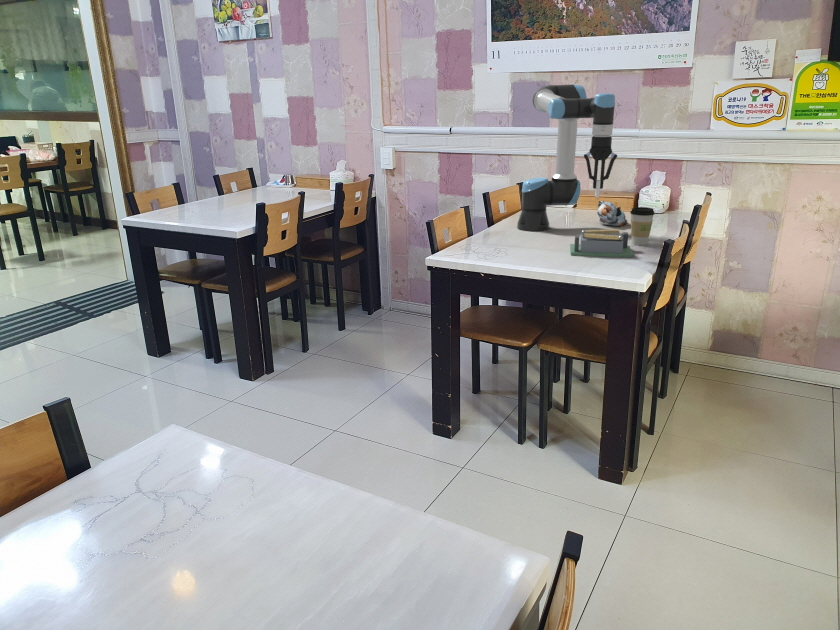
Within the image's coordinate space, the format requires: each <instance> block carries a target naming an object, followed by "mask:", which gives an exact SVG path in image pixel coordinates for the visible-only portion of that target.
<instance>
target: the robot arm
mask: <svg viewBox="0 0 840 630" xmlns="http://www.w3.org/2000/svg"><path fill="white" fill-rule="evenodd" d="M532 105H533V107H534V108H535V110H537V111H539V112H542V113H548V114H547V115H548V117H549V118H550V119H552V120H553V119H556V120H558V121H557V136H556V138H557V139H556V140H557V141H556V153H555V155H556V158H555V170H554V171H555V172H554V173H553V174H552V175H551V180H549V179H548V178H547V177H544V176H543V177H533V178H529V179H526V180H524V181H523V183H522V188H521V212H520V215H519V218H518V220H517V229H518V230H520V231H521V230H522V231H526V232H527V231H528V232H530V231H531V232H538V231H547V230H550V221H549V218H548V217H549V216H548V214H547V207H548V206H549V207H550V206H551V207H552V206H566V207H567V206H573V205H575V204H577V202H578V200H579V199H580V194H581V182H580V180H578V177H577V175H576V174H575V165H576V164H575V163H576V162H575V161H576V151H577V150H576V149H577V137H578V136H577V134H578V124H579V123H578V122H579V119H592V128H591V129H592V130H591V131H592V132H591V135H592V136H591V144H590V145H591V146H590V149H589V151H588V152H586V153H584V154H583V158H584V159H585V162H586V168H587V173H588V179H590V180H592V181H593V182H592V188H593V189H594V190H595V193H594V197H595V198H598V199H599V198H600V193H601V192H600V191H601V190H603V188H604V182H605V180H608V179H609V177H610V176H611V175H610V174H611V171H612V169H613V166H614V163H615V161H616V159H617V158H618V155H617V153H614V151H613V149H612V140H613V139H612V138H613V137H612V135H613V129H614V128H613V127H614V118H615V117H614V116H615V106H616V95H615V94H614V93H596V94H595V96H594V97H589V98H588V97H587V92H586V89H585V87H584V86H583V85H581V84H550V85H545V86H543V87H542V86H541V88H538V89H537V90H536V91H535V92H534V94H533V95H532ZM591 157H592V158H593V160H594V165H593V166H594V167H593V172H592V168H591V167H592V166H591V161H590V158H591ZM609 157H610V160H609V163H608V167H607V170H606V172H605V168H606V165H605V164H606V161H607V159H608V158H609ZM599 161H600V162H601V164H600V175H599V179H598V170H599ZM592 173H593V174H592Z"/></svg>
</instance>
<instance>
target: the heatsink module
mask: <svg viewBox="0 0 840 630" xmlns="http://www.w3.org/2000/svg"><path fill="white" fill-rule="evenodd" d="M584 234H585V233H583V235H582V232H581V233H580V235H575V236H574V243H570V244H569V245H570V246H569V248H570V256H581V257H585V256H586V257H616V258H618V257H619V258H633V257H634V252H633V250H632V249H631V245H628V243H629V242H628V241H629V233H628V232H627V231H625V232H623V234H620V233H604V234H603V235H617V236H619V235H622V237H623V240H622V241H620V240H616V239H602V238H589V237H584ZM590 234H592V233H590Z"/></svg>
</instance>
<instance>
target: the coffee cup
mask: <svg viewBox="0 0 840 630" xmlns="http://www.w3.org/2000/svg"><path fill="white" fill-rule="evenodd" d="M629 213H630V215H631V219H630V230H631V231H630V233H631V244H632V245H634V246H647V245H648V243H649V242H648V241H649V237H650V235H651V230H652V225H653V220H654V215H655V213H656V212H655V210H654V208H653V207H647V206H646V207H645V206H635V207H633V208H632V209H631V210H630V212H629Z"/></svg>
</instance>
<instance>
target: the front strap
mask: <svg viewBox="0 0 840 630" xmlns="http://www.w3.org/2000/svg"><path fill="white" fill-rule="evenodd" d="M584 237H589V238H602V239H616V240H620V241H622V240H623V234H621V235H619V236H617V235H603V234H590V233H585V234H584Z"/></svg>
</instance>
